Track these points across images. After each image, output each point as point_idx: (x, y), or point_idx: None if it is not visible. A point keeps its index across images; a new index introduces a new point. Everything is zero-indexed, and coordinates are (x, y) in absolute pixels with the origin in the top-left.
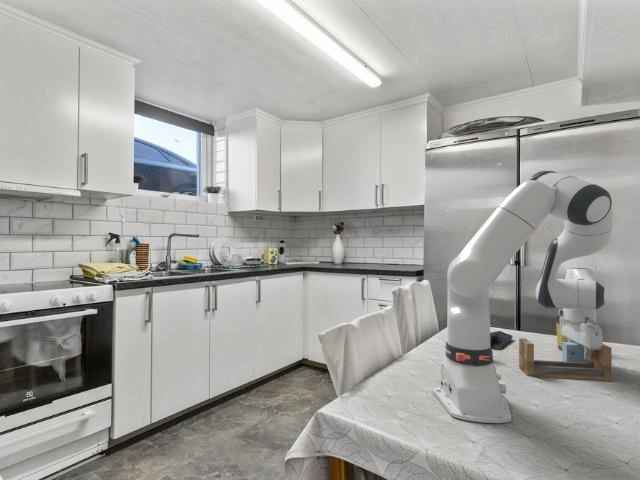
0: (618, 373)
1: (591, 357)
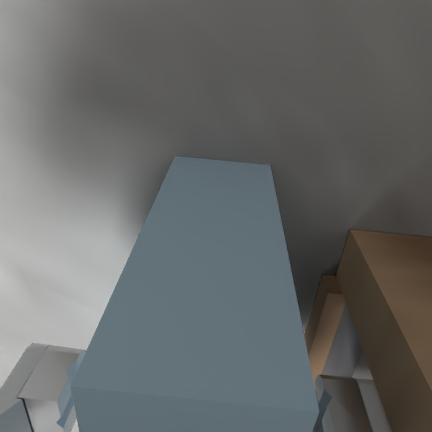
0: (403, 32)
1: (381, 398)
